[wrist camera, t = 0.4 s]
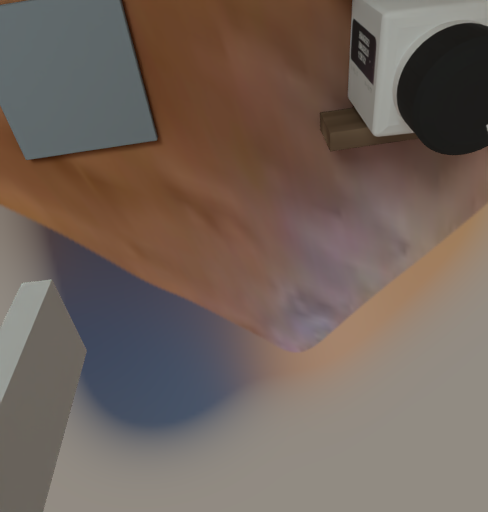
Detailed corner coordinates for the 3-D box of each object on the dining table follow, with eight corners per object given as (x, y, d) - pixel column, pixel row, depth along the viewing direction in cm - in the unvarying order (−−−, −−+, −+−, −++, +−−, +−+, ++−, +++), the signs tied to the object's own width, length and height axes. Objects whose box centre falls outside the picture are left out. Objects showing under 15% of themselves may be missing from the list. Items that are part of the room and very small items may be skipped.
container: (346, 98, 37) (398, 177, 27) (351, -11, 32) (417, 35, 22) (442, 87, 37) (531, 162, 27) (461, -24, 32) (579, 16, 22)
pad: (-40, 11, 31) (-44, 13, 31) (117, -15, 31) (116, -13, 31) (28, 156, 38) (26, 159, 38) (157, 137, 38) (157, 140, 37)
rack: (314, -74, 30) (327, -70, 27) (549, -113, 29) (590, -113, 26) (320, 130, 38) (330, 151, 35) (501, 103, 38) (527, 122, 35)
